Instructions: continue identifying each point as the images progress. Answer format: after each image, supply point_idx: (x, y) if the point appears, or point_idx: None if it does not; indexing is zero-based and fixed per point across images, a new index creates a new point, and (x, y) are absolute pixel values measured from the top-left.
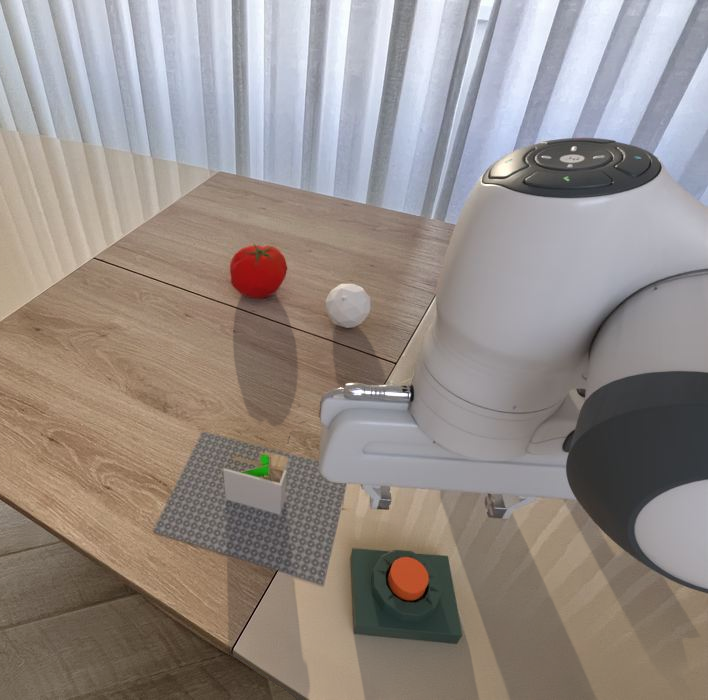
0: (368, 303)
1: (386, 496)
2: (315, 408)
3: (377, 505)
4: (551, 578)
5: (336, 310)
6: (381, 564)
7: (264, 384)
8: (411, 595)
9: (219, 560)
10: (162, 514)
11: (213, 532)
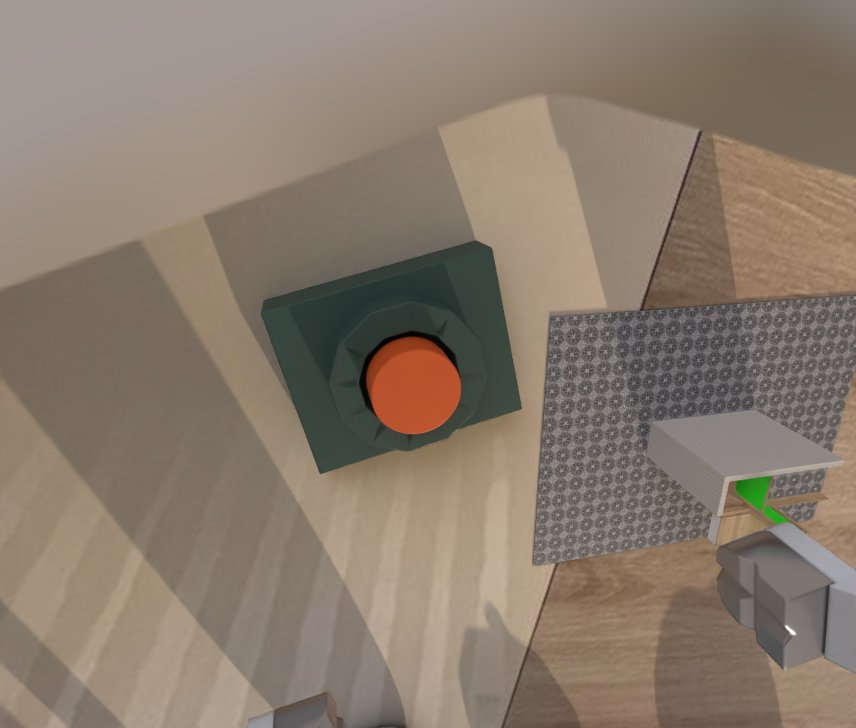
0: None
1: (803, 606)
2: (614, 654)
3: (794, 547)
4: (86, 516)
5: None
6: (471, 394)
7: (713, 657)
8: (402, 347)
9: (749, 286)
10: None
11: (768, 336)
